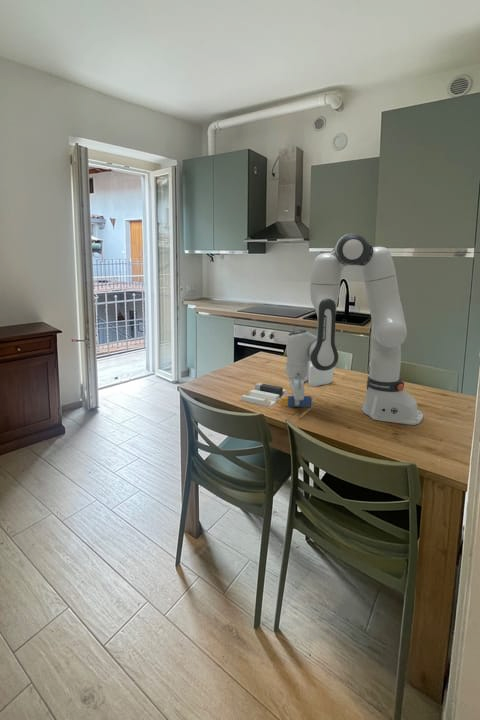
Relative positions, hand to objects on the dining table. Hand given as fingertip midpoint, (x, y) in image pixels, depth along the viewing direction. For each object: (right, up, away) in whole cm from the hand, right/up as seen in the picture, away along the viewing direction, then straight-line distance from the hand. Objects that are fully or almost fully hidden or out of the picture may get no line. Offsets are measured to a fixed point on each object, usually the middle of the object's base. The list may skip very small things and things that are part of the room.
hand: (296, 402), depth 165 cm
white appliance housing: (-13, 0, +9) cm, 16 cm away
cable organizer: (+13, +6, +30) cm, 34 cm away
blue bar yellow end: (0, -2, 0) cm, 2 cm away
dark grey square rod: (-10, +2, +12) cm, 16 cm away
